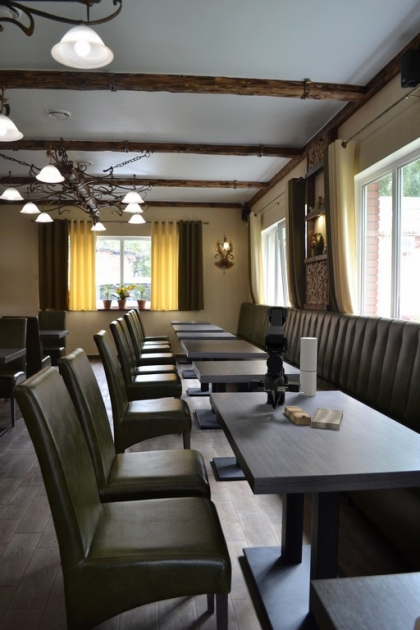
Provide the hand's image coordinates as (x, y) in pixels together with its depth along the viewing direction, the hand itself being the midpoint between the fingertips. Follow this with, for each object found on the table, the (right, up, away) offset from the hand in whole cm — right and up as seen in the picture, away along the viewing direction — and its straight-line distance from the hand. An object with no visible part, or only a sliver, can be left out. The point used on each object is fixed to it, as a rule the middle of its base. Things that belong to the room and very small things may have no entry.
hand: (274, 408), depth 174 cm
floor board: (+17, -2, -9) cm, 20 cm away
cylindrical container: (+20, -1, +35) cm, 40 cm away
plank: (+7, -2, -7) cm, 10 cm away
